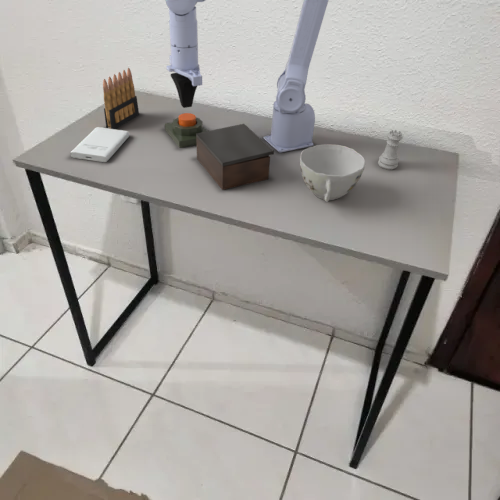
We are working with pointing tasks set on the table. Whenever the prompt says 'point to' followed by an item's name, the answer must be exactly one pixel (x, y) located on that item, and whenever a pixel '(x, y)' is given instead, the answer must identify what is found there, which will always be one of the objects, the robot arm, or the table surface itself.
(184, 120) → the button
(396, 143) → the rook chess piece
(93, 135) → the hard drive
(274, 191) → the table surface
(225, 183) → the wooden lidded box
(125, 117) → the ammunition clip
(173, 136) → the control block
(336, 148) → the teacup
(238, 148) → the lid
